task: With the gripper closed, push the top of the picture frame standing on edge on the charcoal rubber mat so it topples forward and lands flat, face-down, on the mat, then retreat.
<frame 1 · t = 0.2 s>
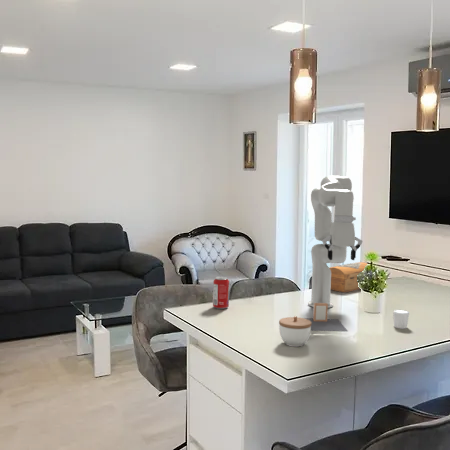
hand: (341, 259, 238), 31 cm above the table, fingers open, 9 cm apart
wooden box: (347, 287, 333), on the table
soda can: (220, 308, 275), on the table
lidded bowl: (294, 344, 220), on the table
charcoal mat: (322, 325, 247), on the table
picture frame: (320, 320, 253), point 1 cm above the table, touching charcoal mat
white cup: (400, 327, 248), on the table
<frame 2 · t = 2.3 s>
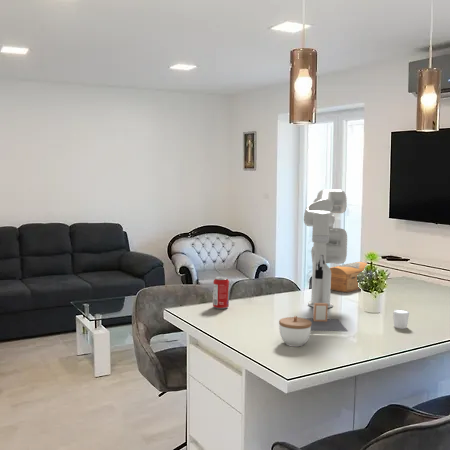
hand: (318, 278, 257), 19 cm above the table, fingers closed
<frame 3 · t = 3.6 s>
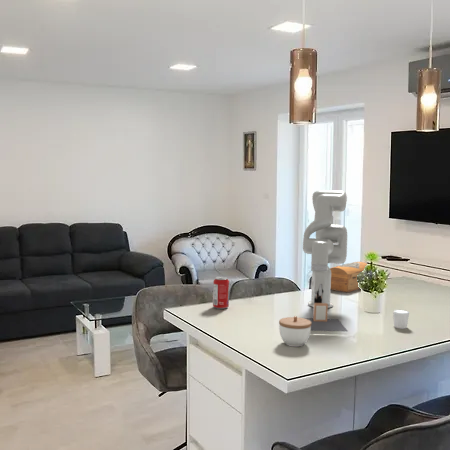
hand: (317, 306, 259), 5 cm above the table, fingers closed
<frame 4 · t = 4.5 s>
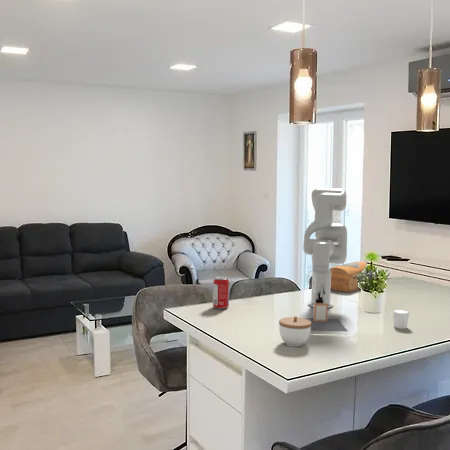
hand: (319, 308, 255), 6 cm above the table, fingers closed
picture frame: (320, 320, 253), point 1 cm above the table, touching charcoal mat, gripper
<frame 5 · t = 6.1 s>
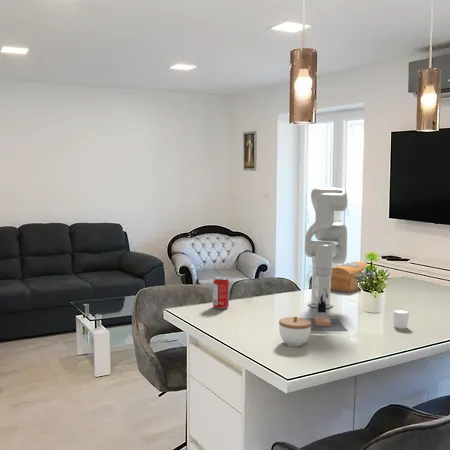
hand: (321, 312, 249), 5 cm above the table, fingers closed
picture frame: (320, 318, 251), point 2 cm above the table, tilted 90°, touching charcoal mat
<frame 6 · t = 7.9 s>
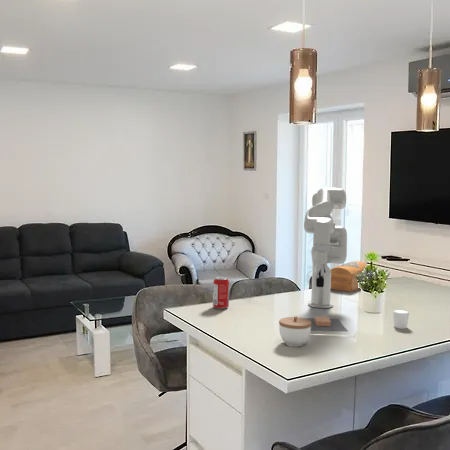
hand: (319, 286, 256), 15 cm above the table, fingers closed
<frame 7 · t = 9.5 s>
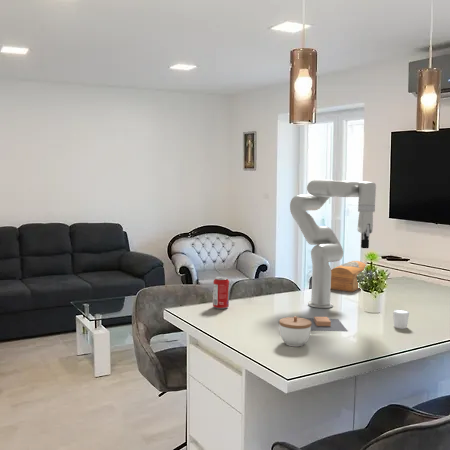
hand: (364, 247, 259), 33 cm above the table, fingers closed
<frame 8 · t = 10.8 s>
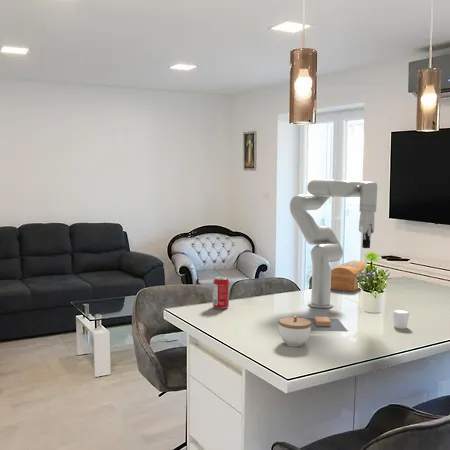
hand: (366, 247, 260), 33 cm above the table, fingers closed
at the end: picture frame tilted 90°; picture frame inside the target area on the charcoal mat (5.4 cm from its centre), point 1.7 cm above the charcoal mat's base; picture frame touching charcoal mat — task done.
